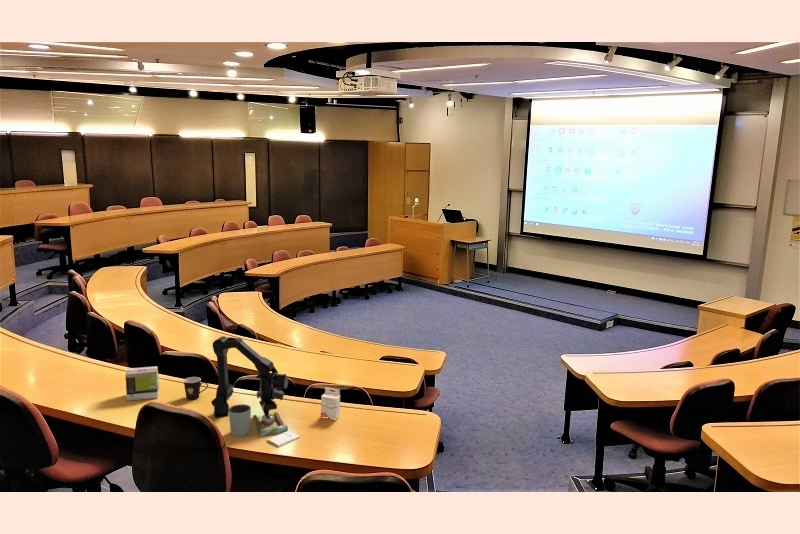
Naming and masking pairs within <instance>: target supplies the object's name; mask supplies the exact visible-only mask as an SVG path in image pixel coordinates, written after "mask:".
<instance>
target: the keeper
mask: <svg viewBox="0 0 800 534" xmlns="http://www.w3.org/2000/svg"><path fill="white" fill-rule="evenodd" d="M261 424H262V425H263V424H264V425H263V426H270V425H273V424H275V416H274V414H272V413H269V414H263V415H262V416H261Z"/></svg>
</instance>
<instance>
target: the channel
mask: <svg viewBox="0 0 800 534" xmlns="http://www.w3.org/2000/svg"><path fill="white" fill-rule="evenodd" d="M273 415H275V416H274V418H275V419H276V421H277V423H278V424H279V425H278V426H272V427H265V428H263V427H262V425H261V424H262V423H260V421H259V420H260V419H259V418H258V416H257V414H254V415H252V419H253V422H254V421H255V422H254V424H255V426H256V427H257V428H256V429H257V431H258V434H259V437H262V436H269V435H276V434H282V433H284V432H287V431H289V430H288V428H289V426H288V425H287V424H285V423H284V421H283V419H282V417H281V416H280V414H279V412H278V411H275V412H274V413H273Z"/></svg>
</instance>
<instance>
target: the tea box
mask: <svg viewBox="0 0 800 534" xmlns="http://www.w3.org/2000/svg"><path fill="white" fill-rule="evenodd" d="M159 383H160V382H159V368H158V366H157V365H155V366H144V367H143V366H141V367H131V368H127V370H126V372H125V387H126V388H125V390H126V401H138V400H148V399H149V400H150V399H158V398H159V394H160V393H159V392H160V384H159Z"/></svg>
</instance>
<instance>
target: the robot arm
mask: <svg viewBox="0 0 800 534" xmlns="http://www.w3.org/2000/svg"><path fill="white" fill-rule="evenodd" d="M212 349H213V353H214V354H215V357H216V362H217V363H216V364H217V376H218V378H217V379H218V380H217V381H218V384H217V388H216V393H215V398H213V399H212V400H211V402H210V403H211V405H212V406H213V415H214V418H221V417H222V418H223V417H229V411H228V410H229V408H230V406H229V405H230V404H229V402H228V401H229V399H230V398H231V397H232V396H233V393H234V384H230V382H229V370H228V352H229V349H236V350H237V351H238V352H239V353H241V354H242V355H243V356H244V357H246V358H247V359H248V360H249V361H250V362H251V363H253V365H254V367H255V369H256V370H257V371H258V374H257V375H256V376H255V378H256V379H259V384H260V387H259V390H258V391H257V392H256V398H257V399H259V398H260V401H258V403H259V404H260V407H261V410H262V412H263V415H265V414H270V411H271V410H277V409H278V405H277V403H276V401H274V400H275V399H276V400H280V401H282V400H283V399H284V396H285V393H284V391H283V390H282V389H287V388H288V385H289V378H288V376H287V374H286V373H284V374H282V373H279V372H278V370H277V368H276V367H275V365H274V362H273V361H272V360H270V359H269V358H267V357H265V356H262V355H260V354H259V353H258V352H257V351H255V350H254V349H253V348H252V347H251V346H250V345H248V344H247V343H246V342H245V341H244V340H243V339H242V338H241V337H232V336H231V337H227V336H225V335H222V336H220V337H219V338H217V339H215V340H214V341H213V342H212Z"/></svg>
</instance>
